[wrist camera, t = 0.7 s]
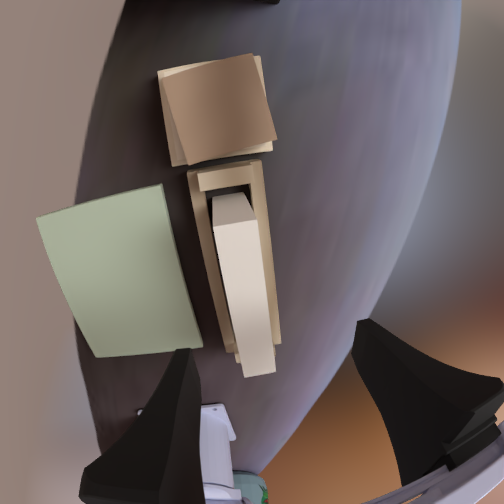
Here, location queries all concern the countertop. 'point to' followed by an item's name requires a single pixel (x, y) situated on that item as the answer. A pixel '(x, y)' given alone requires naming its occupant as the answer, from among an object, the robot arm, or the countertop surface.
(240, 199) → the cream rectangular block
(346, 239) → the countertop surface
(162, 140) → the countertop surface
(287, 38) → the countertop surface
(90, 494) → the robot arm
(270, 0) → the ammunition clip
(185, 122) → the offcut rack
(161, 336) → the sage mat
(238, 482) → the mug
